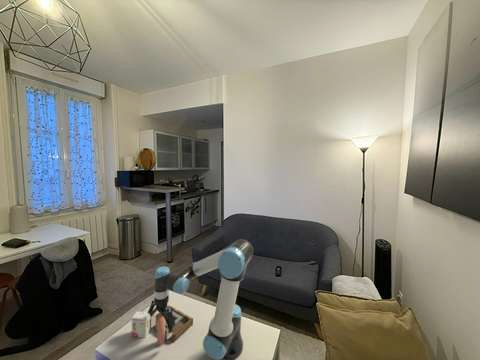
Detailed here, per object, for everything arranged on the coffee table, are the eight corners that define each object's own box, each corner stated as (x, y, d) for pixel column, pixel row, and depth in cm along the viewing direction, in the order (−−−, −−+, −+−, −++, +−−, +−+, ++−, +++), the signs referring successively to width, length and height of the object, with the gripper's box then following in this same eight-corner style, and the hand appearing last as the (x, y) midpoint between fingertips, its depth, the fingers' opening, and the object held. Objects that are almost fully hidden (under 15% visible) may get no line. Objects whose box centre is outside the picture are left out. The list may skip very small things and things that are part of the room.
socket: (183, 321, 125) (183, 317, 125) (170, 332, 117) (170, 328, 117) (172, 315, 130) (172, 310, 130) (159, 325, 122) (159, 320, 122)
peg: (166, 341, 112) (166, 318, 111) (160, 347, 109) (160, 323, 108) (161, 338, 114) (162, 315, 113) (155, 343, 111) (155, 320, 110)
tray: (192, 324, 125) (192, 318, 124) (174, 342, 112) (174, 335, 111) (169, 310, 136) (169, 305, 135) (149, 325, 123) (149, 319, 122)
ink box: (131, 336, 114) (131, 317, 113) (135, 329, 119) (135, 311, 118) (145, 338, 114) (145, 318, 113) (149, 330, 119) (149, 312, 118)
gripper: (182, 300, 106) (181, 337, 108) (153, 284, 119) (152, 317, 120) (171, 308, 100) (170, 347, 101) (141, 291, 112) (140, 326, 114)
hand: (160, 331), depth 111 cm, fingers open, 13 cm apart
